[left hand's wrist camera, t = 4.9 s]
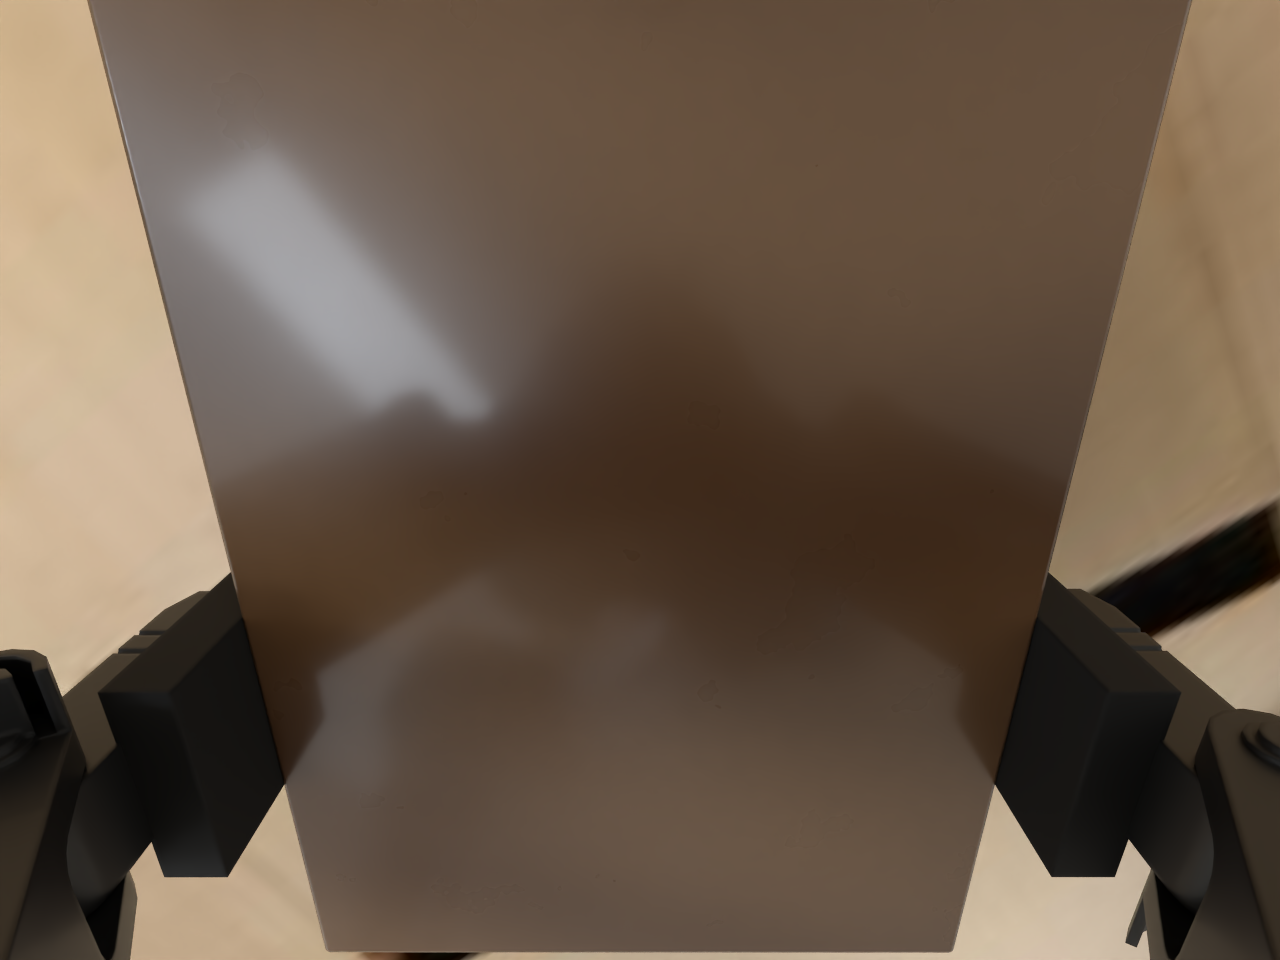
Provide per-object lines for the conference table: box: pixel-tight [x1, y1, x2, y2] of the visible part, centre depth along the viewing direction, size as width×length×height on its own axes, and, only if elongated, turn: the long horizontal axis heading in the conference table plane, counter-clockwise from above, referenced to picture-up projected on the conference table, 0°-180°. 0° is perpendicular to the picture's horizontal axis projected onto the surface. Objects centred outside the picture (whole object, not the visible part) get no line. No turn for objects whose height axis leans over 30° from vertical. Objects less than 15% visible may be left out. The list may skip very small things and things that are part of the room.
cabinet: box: [87, 0, 1192, 953], centre depth 12 cm, size 18×10×9 cm, turn 0°
